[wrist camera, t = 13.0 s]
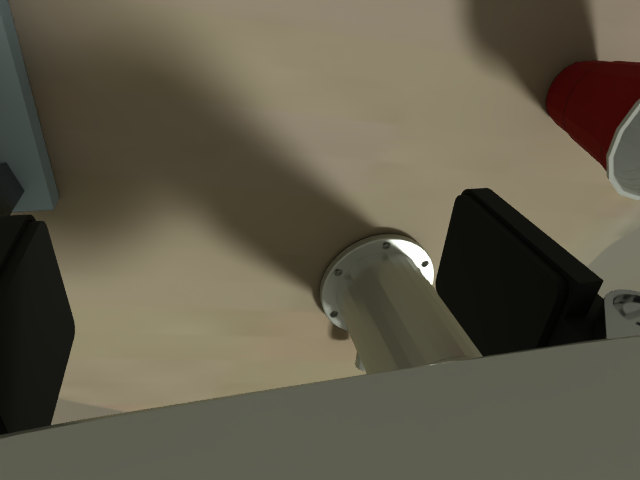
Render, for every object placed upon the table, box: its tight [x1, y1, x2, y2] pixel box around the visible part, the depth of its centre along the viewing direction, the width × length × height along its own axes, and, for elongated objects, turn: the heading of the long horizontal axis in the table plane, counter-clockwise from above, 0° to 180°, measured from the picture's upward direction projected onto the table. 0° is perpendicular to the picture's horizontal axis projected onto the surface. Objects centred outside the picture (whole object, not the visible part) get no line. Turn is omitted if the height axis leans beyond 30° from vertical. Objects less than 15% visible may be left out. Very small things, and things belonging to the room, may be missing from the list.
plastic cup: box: [546, 61, 640, 200], centre depth 39 cm, size 11×11×12 cm
